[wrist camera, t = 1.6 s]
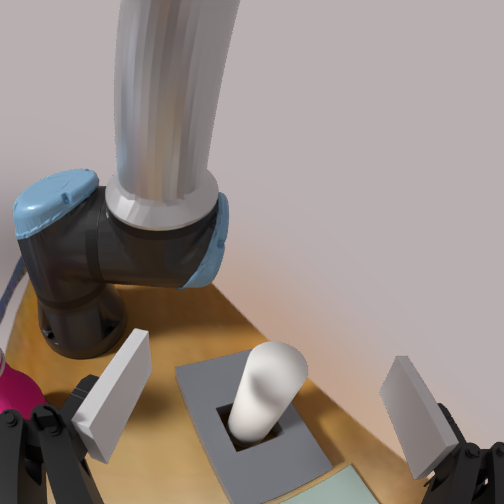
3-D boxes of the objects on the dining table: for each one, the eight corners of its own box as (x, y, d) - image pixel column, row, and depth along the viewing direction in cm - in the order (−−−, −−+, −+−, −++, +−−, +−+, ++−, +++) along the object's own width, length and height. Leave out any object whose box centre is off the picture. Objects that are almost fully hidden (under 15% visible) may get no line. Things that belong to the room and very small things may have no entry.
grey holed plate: (175, 378, 34) (174, 367, 33) (254, 358, 40) (258, 347, 38) (235, 512, 20) (238, 512, 19) (323, 472, 26) (333, 467, 24)
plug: (219, 419, 31) (237, 349, 22) (255, 408, 33) (289, 335, 24) (235, 452, 27) (264, 400, 18) (272, 438, 29) (319, 379, 21)
